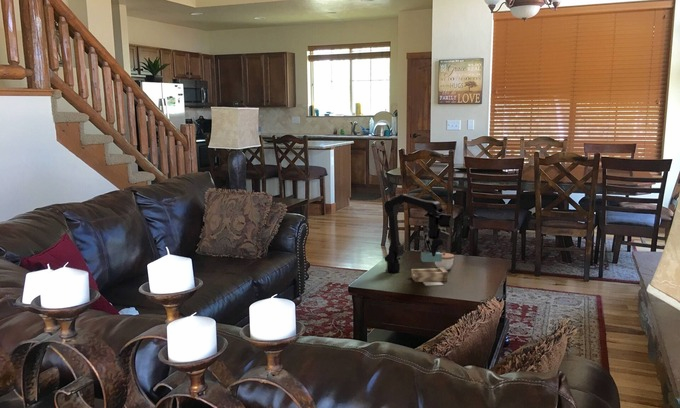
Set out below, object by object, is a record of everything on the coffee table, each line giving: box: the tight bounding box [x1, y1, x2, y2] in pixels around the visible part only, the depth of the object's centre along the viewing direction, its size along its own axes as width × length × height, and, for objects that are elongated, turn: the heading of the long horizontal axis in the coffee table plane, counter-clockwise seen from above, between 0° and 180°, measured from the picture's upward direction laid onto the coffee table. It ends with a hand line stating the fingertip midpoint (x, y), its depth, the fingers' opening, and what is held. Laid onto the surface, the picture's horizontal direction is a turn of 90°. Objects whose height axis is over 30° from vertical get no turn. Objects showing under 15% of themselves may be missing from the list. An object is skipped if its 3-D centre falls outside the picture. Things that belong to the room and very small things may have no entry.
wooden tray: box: [410, 267, 449, 283], centre depth 295 cm, size 17×8×5 cm, turn 96°
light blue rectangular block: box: [420, 251, 442, 263], centre depth 293 cm, size 10×4×4 cm, turn 96°
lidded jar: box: [434, 251, 455, 271], centre depth 316 cm, size 11×11×9 cm
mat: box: [422, 281, 444, 287], centre depth 287 cm, size 9×5×1 cm, turn 96°
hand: (432, 255), depth 293 cm, fingers closed on light blue rectangular block, 4 cm apart
